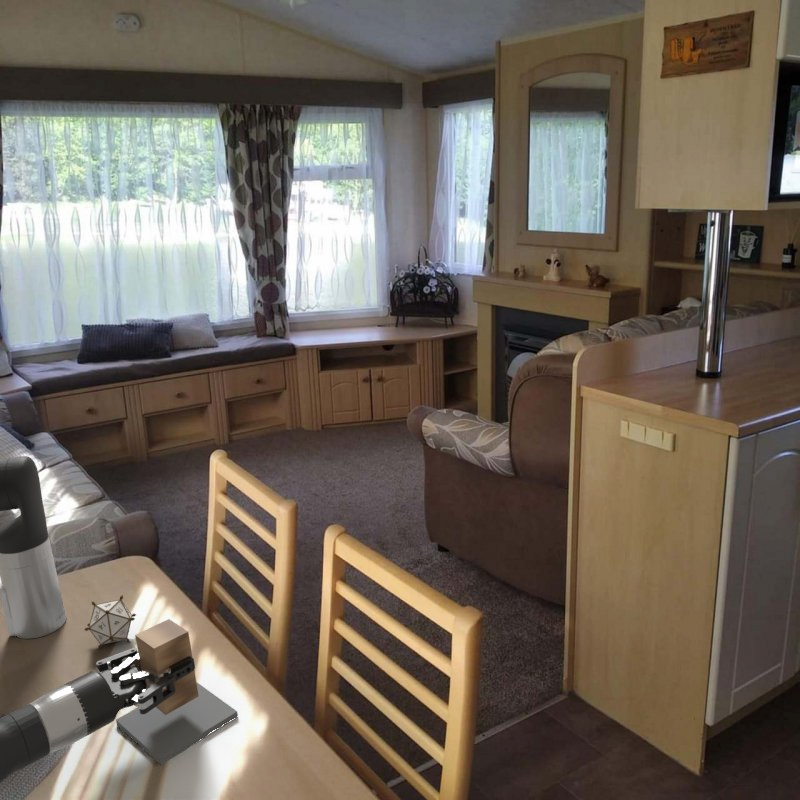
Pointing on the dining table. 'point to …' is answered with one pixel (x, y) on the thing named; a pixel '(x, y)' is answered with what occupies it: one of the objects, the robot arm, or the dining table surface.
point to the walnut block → (167, 660)
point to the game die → (110, 622)
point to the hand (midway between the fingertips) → (181, 654)
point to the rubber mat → (176, 725)
